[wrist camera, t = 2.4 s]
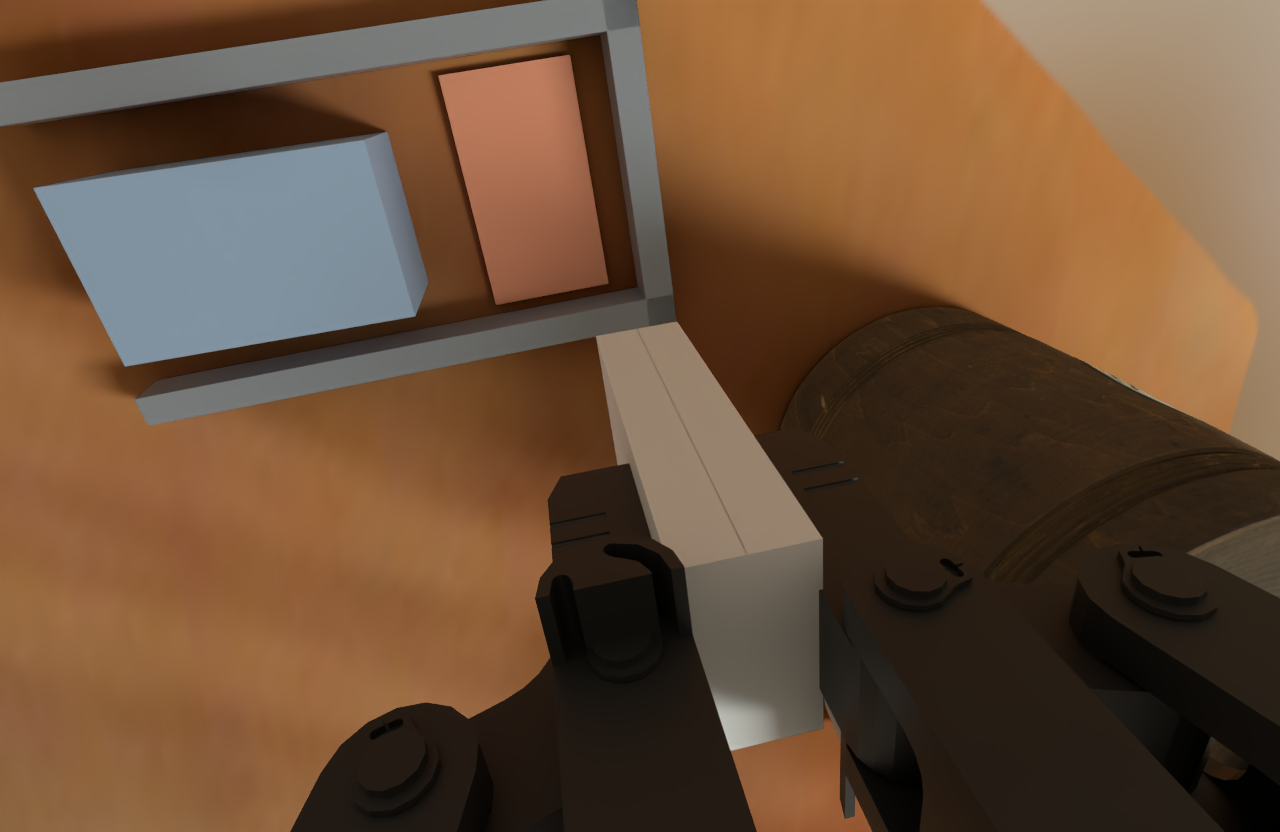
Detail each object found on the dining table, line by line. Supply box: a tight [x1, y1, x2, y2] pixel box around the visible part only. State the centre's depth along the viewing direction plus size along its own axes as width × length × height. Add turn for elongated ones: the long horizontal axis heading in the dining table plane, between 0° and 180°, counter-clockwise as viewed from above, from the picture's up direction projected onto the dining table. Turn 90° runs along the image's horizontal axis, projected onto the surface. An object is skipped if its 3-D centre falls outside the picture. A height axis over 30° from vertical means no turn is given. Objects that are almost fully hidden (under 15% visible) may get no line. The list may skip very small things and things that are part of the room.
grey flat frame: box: [0, 0, 677, 426], centre depth 26 cm, size 22×12×2 cm, turn 98°
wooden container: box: [779, 307, 1280, 770], centre depth 27 cm, size 15×15×22 cm
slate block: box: [33, 132, 429, 367], centre depth 25 cm, size 10×6×5 cm, turn 97°
